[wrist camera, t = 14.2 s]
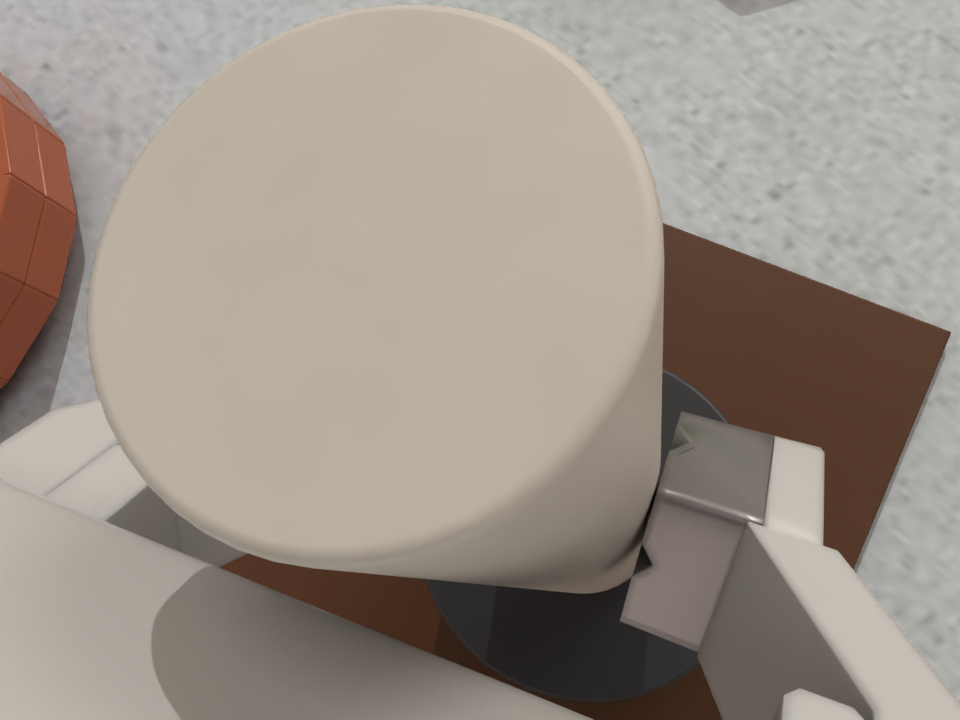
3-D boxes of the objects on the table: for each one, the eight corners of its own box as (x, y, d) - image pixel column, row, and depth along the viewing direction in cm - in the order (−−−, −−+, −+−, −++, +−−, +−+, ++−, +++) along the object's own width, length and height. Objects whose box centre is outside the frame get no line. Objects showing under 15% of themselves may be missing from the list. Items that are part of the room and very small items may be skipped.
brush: (670, 746, 15) (758, 1725, 2) (406, 592, 17) (-457, 565, 4) (794, 462, 16) (1403, -155, 3) (531, 348, 18) (188, -343, 5)
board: (668, 1007, 14) (669, 1014, 14) (98, 627, 18) (90, 628, 18) (946, 335, 17) (952, 331, 16) (385, 122, 20) (381, 115, 20)
